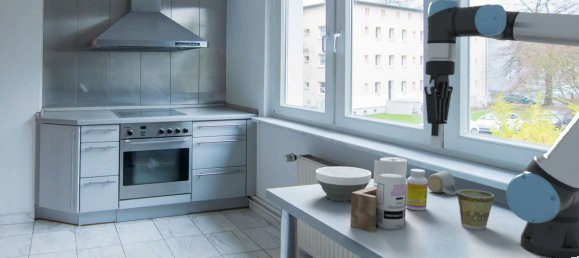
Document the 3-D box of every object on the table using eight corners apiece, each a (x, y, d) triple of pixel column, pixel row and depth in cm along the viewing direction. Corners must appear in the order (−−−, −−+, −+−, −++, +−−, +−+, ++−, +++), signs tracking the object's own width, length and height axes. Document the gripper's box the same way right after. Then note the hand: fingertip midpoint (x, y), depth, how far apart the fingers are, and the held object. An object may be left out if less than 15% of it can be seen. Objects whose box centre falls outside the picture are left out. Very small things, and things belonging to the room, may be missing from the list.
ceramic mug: (424, 191, 189) (426, 171, 188) (437, 188, 194) (438, 169, 193) (449, 197, 181) (450, 176, 180) (461, 194, 186) (463, 174, 185)
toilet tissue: (410, 183, 201) (411, 159, 200) (395, 188, 193) (396, 163, 191) (387, 179, 209) (388, 156, 207) (372, 184, 200) (373, 159, 199)
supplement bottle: (426, 211, 161) (429, 172, 159) (405, 210, 162) (407, 171, 160) (425, 206, 167) (427, 168, 166) (405, 205, 168) (407, 167, 167)
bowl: (312, 191, 186) (313, 166, 184) (364, 191, 186) (365, 166, 185) (317, 205, 166) (318, 177, 165) (375, 205, 167) (376, 177, 166)
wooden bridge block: (405, 219, 152) (406, 187, 150) (372, 232, 138) (373, 197, 137) (384, 214, 157) (385, 183, 156) (350, 226, 144) (351, 192, 142)
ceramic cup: (478, 234, 139) (481, 199, 138) (448, 224, 147) (450, 191, 146) (504, 226, 147) (506, 193, 145) (474, 218, 155) (476, 186, 153)
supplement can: (382, 219, 150) (384, 171, 149) (408, 225, 146) (410, 175, 144) (370, 226, 144) (372, 175, 142) (397, 232, 139) (399, 179, 137)
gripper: (437, 61, 140) (433, 144, 142) (416, 59, 130) (412, 148, 133) (463, 61, 135) (459, 146, 137) (443, 59, 125) (438, 151, 128)
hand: (436, 147), depth 135 cm, fingers closed
